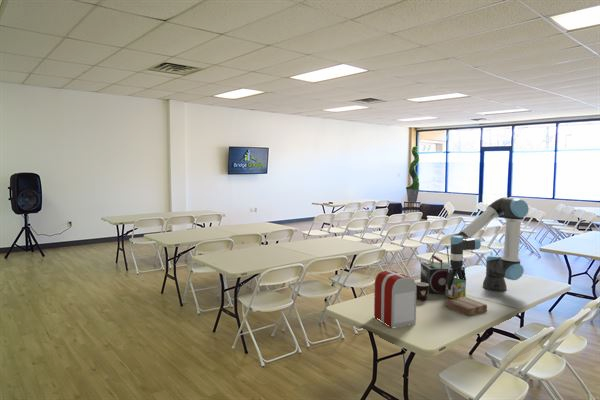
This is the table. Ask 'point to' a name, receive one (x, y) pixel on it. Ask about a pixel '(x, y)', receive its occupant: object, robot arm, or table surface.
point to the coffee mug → (421, 291)
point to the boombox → (435, 275)
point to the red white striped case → (395, 298)
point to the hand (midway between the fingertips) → (455, 293)
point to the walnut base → (466, 306)
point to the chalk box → (457, 288)
